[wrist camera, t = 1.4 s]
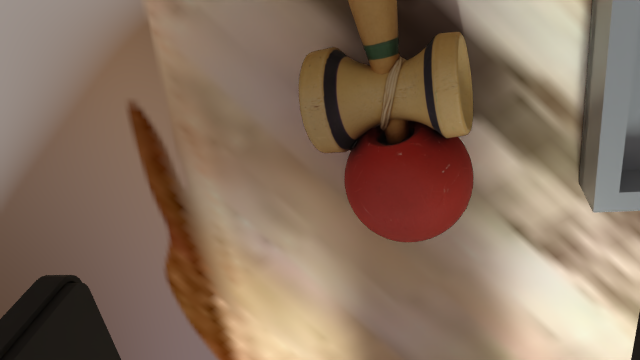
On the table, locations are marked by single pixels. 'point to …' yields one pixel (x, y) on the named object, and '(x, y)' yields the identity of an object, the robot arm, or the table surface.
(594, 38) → the cradle tray
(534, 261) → the table surface
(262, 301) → the table surface
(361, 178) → the kendama
